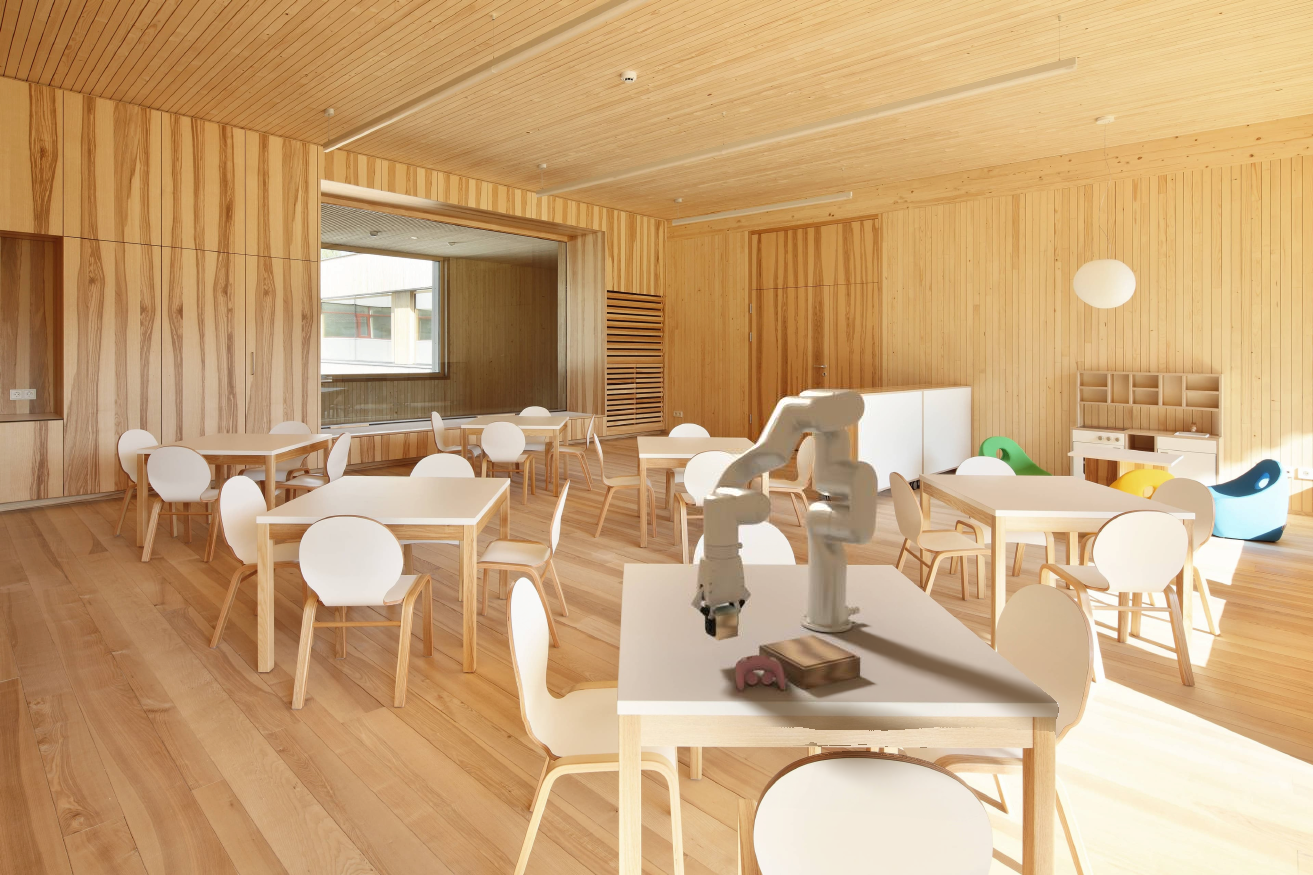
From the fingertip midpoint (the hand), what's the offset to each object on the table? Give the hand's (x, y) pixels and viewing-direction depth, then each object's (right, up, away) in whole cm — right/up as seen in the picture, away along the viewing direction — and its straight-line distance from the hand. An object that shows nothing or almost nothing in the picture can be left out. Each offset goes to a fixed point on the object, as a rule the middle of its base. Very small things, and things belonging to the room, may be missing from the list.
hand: (721, 631), depth 158 cm
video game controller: (+6, -8, -12) cm, 16 cm away
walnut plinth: (+18, -7, -4) cm, 20 cm away
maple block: (0, -1, 0) cm, 1 cm away
